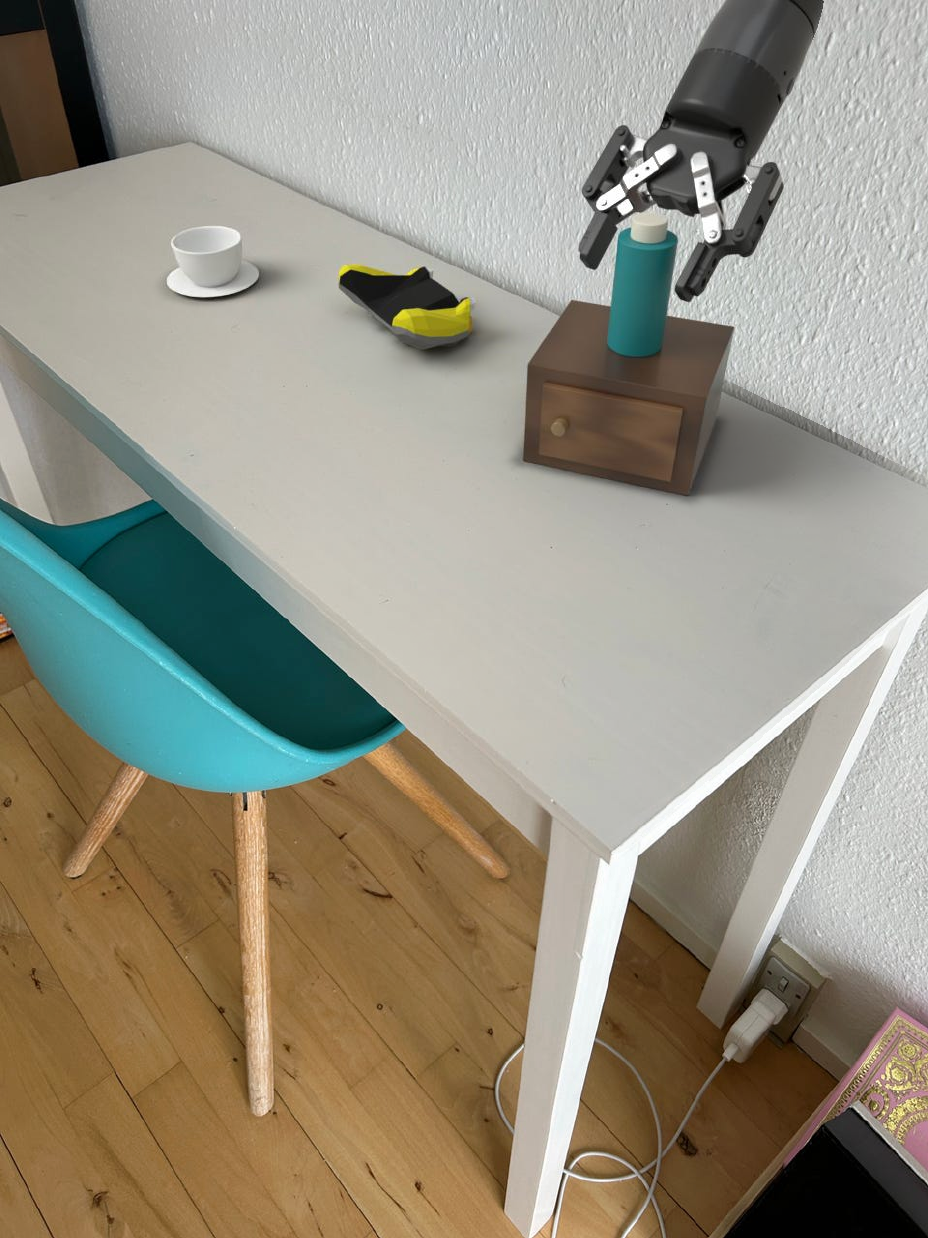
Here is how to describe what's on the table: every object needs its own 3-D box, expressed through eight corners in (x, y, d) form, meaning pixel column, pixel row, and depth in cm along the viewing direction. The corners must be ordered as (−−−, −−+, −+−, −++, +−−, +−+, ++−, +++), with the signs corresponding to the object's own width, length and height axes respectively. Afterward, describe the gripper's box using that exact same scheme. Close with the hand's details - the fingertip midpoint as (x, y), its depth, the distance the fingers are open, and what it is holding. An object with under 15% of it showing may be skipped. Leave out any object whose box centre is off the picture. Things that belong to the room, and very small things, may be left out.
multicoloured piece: (405, 375, 92) (493, 348, 96) (402, 321, 89) (494, 294, 93) (333, 314, 102) (416, 291, 106) (328, 262, 98) (414, 241, 102)
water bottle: (667, 336, 79) (686, 211, 72) (655, 361, 76) (673, 233, 69) (614, 327, 80) (628, 203, 73) (600, 351, 77) (613, 224, 70)
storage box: (715, 421, 86) (734, 326, 80) (684, 505, 77) (703, 405, 71) (564, 392, 90) (571, 299, 84) (517, 469, 81) (521, 371, 75)
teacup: (272, 288, 106) (266, 246, 103) (182, 308, 103) (173, 265, 99) (242, 255, 113) (235, 214, 109) (156, 273, 109) (147, 231, 106)
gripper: (641, 29, 72) (538, 231, 74) (820, 62, 65) (702, 284, 67) (670, 92, 79) (574, 276, 80) (835, 128, 72) (727, 329, 73)
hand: (633, 280), depth 73 cm, fingers open, 8 cm apart
